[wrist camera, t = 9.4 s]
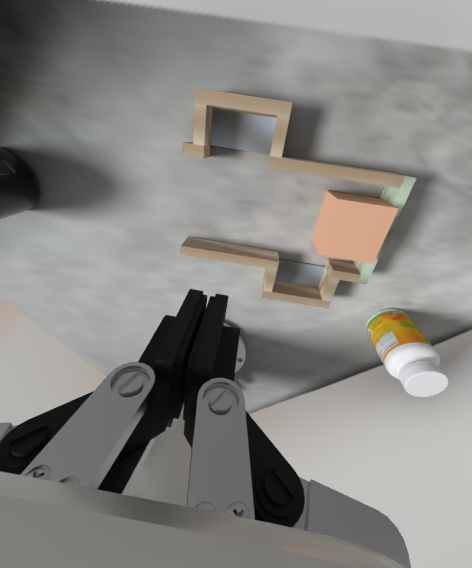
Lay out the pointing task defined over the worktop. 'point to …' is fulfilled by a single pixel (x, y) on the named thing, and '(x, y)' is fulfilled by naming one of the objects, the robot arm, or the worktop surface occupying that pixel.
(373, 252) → the terracotta block
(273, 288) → the trap lane
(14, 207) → the supplement bottle
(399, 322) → the supplement bottle
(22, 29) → the worktop surface
